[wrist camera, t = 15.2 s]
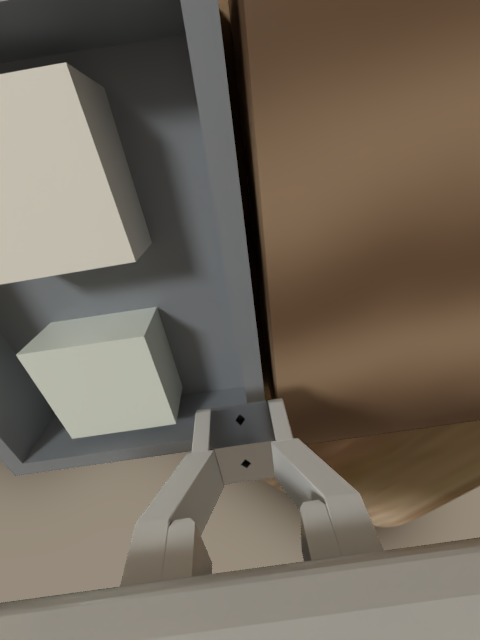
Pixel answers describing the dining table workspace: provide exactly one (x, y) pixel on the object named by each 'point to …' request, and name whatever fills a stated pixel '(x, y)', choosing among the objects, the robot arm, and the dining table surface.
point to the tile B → (106, 372)
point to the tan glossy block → (364, 208)
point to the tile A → (63, 178)
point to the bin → (160, 216)
